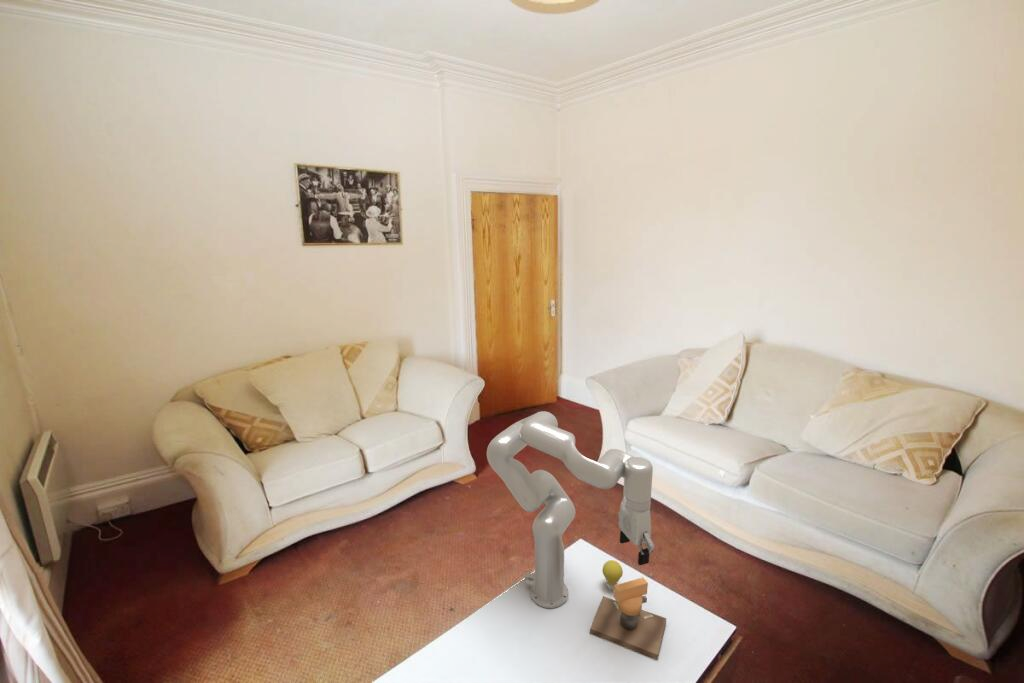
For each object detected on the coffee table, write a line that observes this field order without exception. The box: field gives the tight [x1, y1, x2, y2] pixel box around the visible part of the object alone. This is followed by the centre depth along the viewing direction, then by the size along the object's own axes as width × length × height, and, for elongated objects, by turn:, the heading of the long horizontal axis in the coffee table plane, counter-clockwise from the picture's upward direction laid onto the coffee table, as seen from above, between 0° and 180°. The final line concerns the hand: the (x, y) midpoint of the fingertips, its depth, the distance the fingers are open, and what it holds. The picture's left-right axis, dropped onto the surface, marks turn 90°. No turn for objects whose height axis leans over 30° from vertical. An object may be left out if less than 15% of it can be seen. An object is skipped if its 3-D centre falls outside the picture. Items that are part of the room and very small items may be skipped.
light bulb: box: [602, 559, 624, 591], centre depth 159 cm, size 7×7×10 cm
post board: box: [589, 595, 667, 661], centre depth 143 cm, size 20×14×8 cm
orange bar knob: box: [613, 577, 649, 616], centre depth 141 cm, size 11×7×8 cm, turn 108°
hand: (633, 552), depth 137 cm, fingers open, 9 cm apart
